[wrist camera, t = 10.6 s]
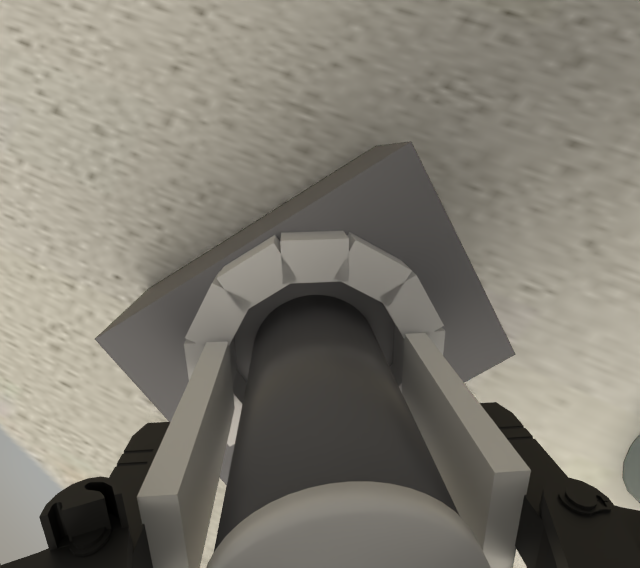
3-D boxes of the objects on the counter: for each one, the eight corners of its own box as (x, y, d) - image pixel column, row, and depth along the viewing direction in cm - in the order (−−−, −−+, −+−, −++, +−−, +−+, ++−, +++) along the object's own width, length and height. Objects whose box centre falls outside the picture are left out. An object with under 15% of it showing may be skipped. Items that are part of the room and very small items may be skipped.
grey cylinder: (267, 278, 15) (228, 488, 6) (394, 308, 16) (551, 539, 6) (238, 396, 17) (168, 721, 7) (355, 419, 17) (435, 739, 8)
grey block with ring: (375, 145, 20) (431, 138, 12) (458, 304, 23) (545, 380, 15) (147, 289, 21) (65, 366, 13) (254, 420, 24) (236, 545, 16)
